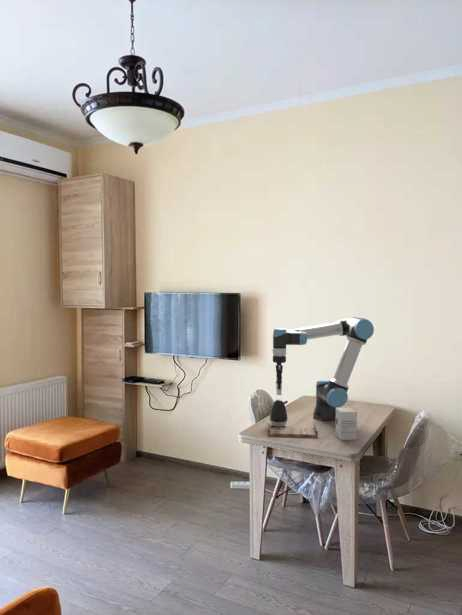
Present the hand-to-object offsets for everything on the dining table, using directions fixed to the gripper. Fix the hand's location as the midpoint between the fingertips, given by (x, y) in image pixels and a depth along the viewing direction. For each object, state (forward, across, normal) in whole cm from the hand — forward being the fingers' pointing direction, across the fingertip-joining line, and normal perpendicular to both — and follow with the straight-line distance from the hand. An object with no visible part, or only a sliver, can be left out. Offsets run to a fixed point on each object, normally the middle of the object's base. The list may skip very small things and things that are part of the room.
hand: (278, 392), depth 274 cm
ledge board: (+19, +14, +7) cm, 25 cm away
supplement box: (+20, +18, +35) cm, 44 cm away
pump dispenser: (+20, 0, 0) cm, 20 cm away
